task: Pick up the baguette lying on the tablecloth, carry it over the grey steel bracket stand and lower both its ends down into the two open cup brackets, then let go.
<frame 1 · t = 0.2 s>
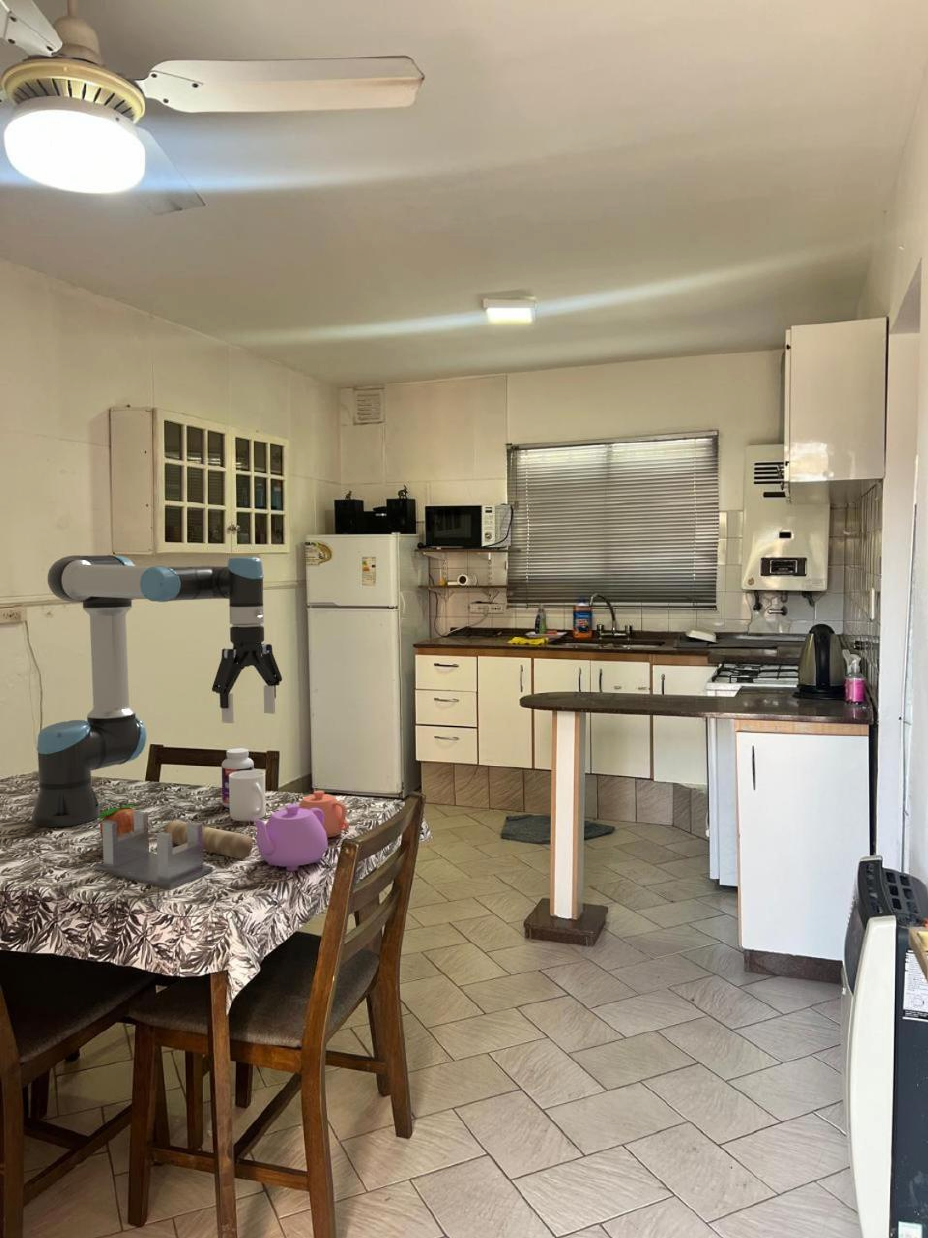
hand: (249, 718, 198), 27 cm above the table, fingers open, 13 cm apart
teapot: (290, 864, 181), on the table
baguette: (207, 850, 190), on the table
bracket stand: (153, 871, 177), on the table
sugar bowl: (322, 836, 199), on the table
mug: (251, 819, 213), on the table
pill bottle: (238, 806, 224), on the table
fruit: (121, 848, 192), on the table
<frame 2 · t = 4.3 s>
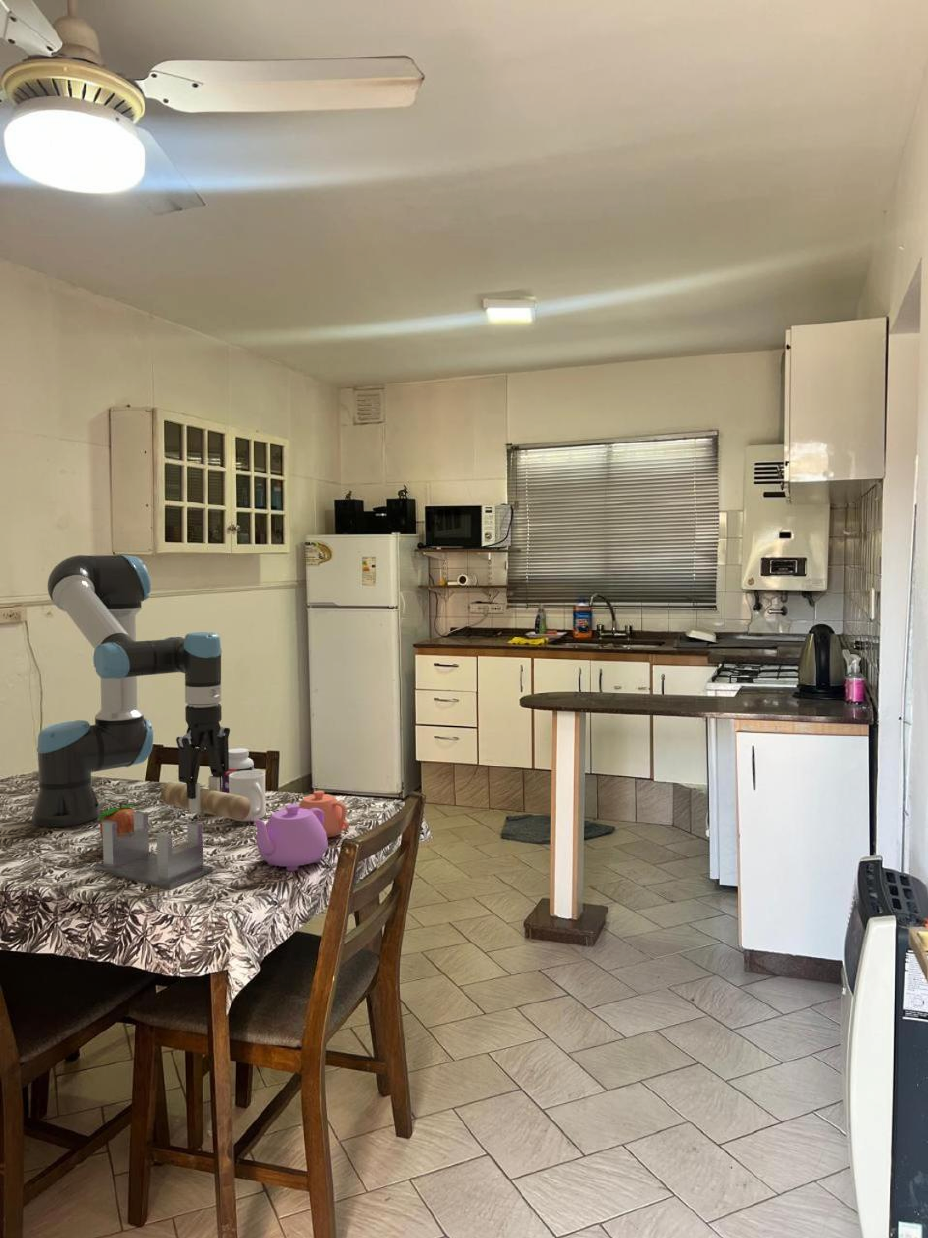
hand: (204, 808, 190), 9 cm above the table, fingers closed on baguette, 5 cm apart
baguette: (203, 812, 189), point 8 cm above the table, tilted 11°, touching gripper
everything else where it was.
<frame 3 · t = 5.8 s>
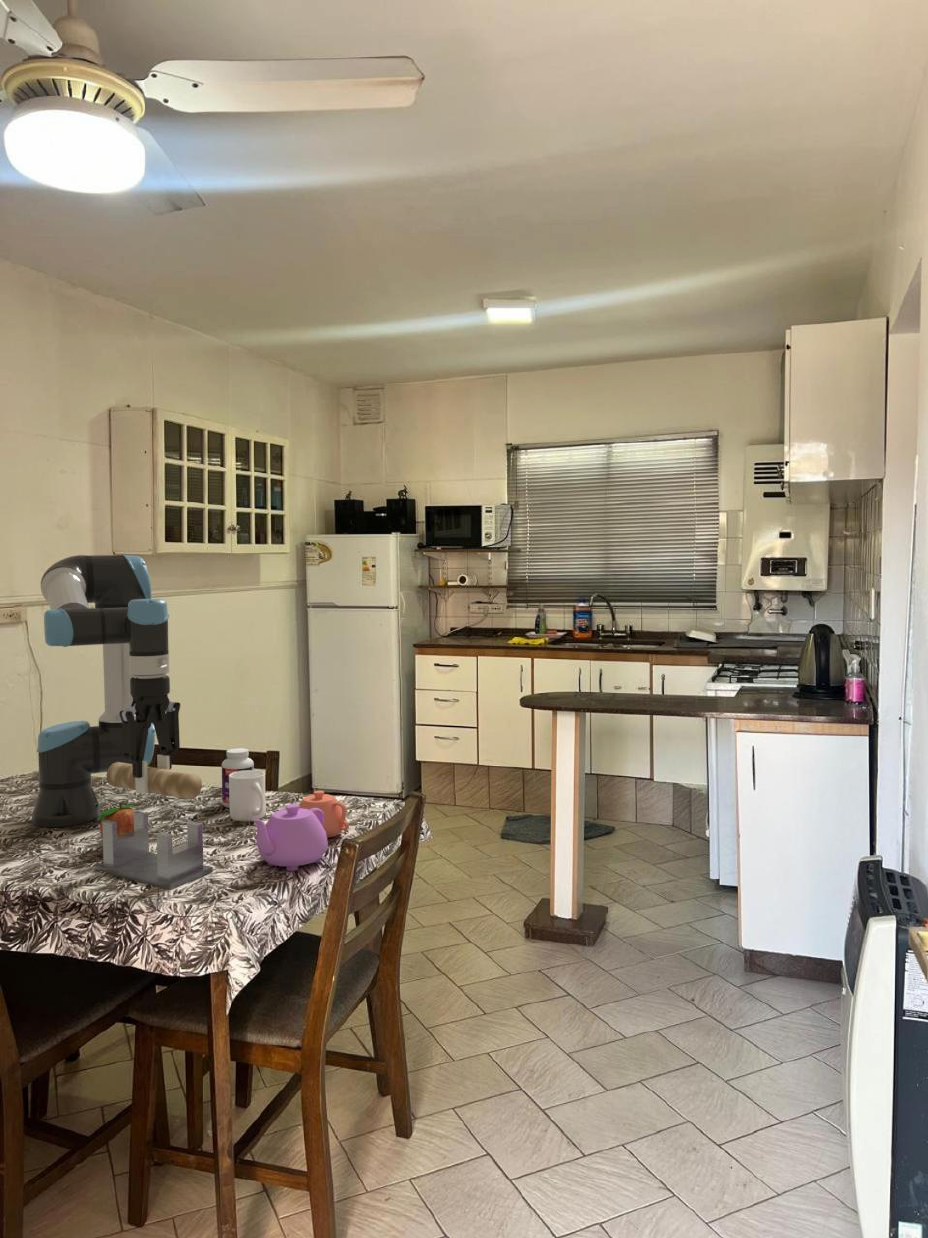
hand: (153, 789, 176), 17 cm above the table, fingers closed on baguette, 5 cm apart
baguette: (151, 792, 176), point 16 cm above the table, tilted 11°, touching gripper
everything else where it was.
when the fingers open (6 cm above the table, at t = 7.7 s): baguette stays where it is, resting on bracket stand.
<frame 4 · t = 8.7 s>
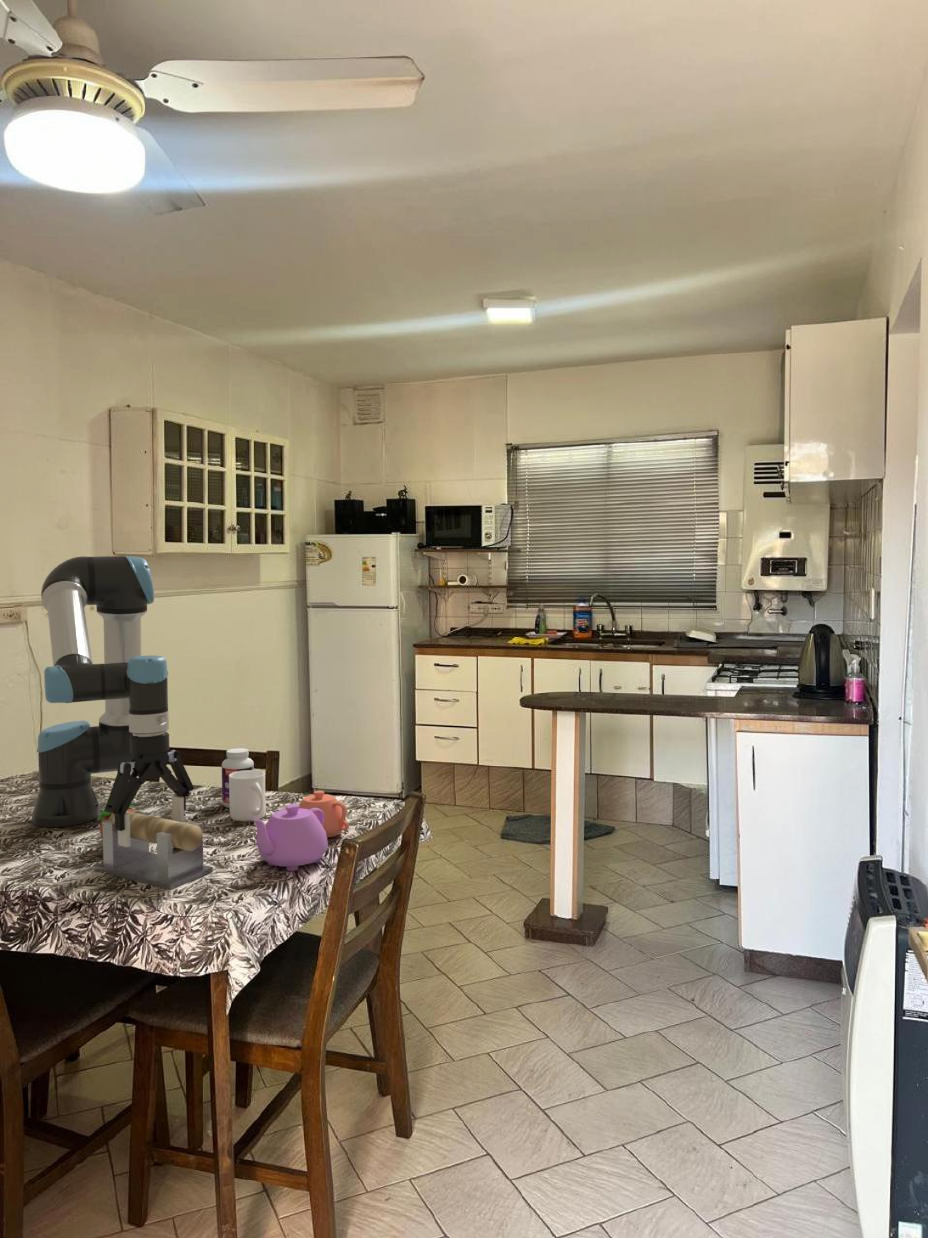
hand: (152, 836, 176), 7 cm above the table, fingers open, 13 cm apart
baguette: (151, 842, 176), point 6 cm above the table, tilted 19°, touching bracket stand
everything else where it was.
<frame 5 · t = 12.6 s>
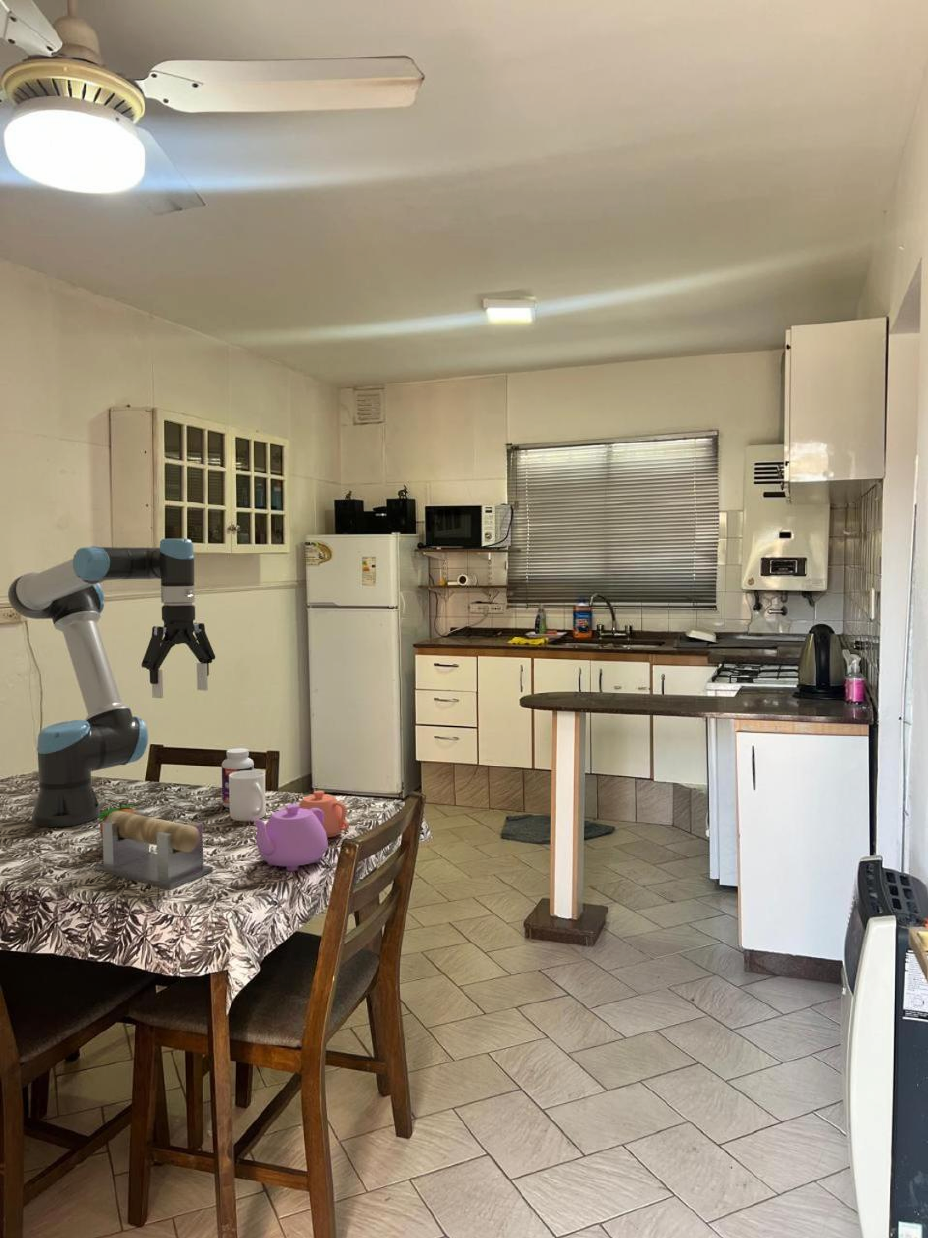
hand: (180, 694, 205), 32 cm above the table, fingers open, 13 cm apart
baguette: (151, 843, 176), point 6 cm above the table, touching bracket stand
everything else where it was.
at the end: baguette 0.5 cm off-centre on the bracket stand, point 6.0 cm above the bracket stand's base; the gripper is holding nothing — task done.
